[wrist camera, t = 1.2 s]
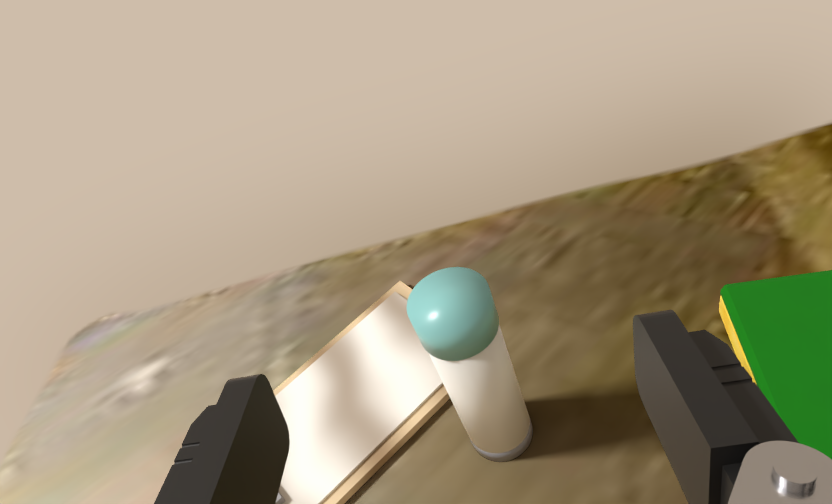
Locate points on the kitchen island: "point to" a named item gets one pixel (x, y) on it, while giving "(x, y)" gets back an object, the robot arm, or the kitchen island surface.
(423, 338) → the bottle
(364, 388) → the clipboard
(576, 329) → the kitchen island surface
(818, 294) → the dish sponge
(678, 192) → the kitchen island surface
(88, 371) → the kitchen island surface
